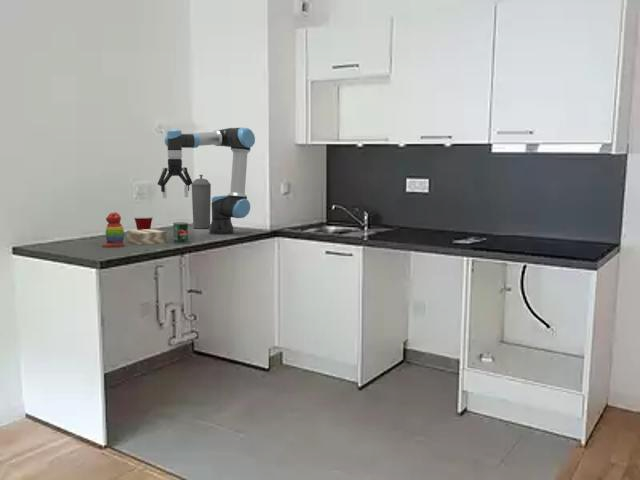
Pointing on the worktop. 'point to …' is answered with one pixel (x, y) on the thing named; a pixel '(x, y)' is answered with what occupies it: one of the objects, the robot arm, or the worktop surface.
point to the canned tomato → (180, 232)
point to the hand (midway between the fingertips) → (175, 197)
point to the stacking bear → (114, 231)
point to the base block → (146, 236)
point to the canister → (201, 203)
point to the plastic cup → (143, 222)
